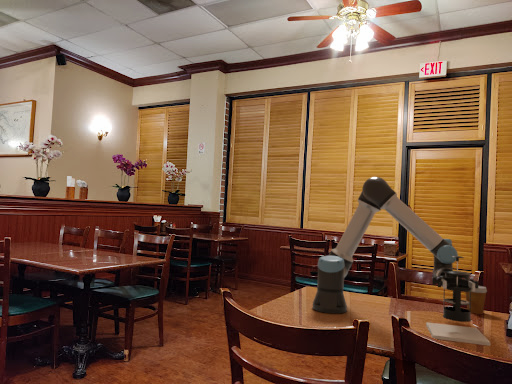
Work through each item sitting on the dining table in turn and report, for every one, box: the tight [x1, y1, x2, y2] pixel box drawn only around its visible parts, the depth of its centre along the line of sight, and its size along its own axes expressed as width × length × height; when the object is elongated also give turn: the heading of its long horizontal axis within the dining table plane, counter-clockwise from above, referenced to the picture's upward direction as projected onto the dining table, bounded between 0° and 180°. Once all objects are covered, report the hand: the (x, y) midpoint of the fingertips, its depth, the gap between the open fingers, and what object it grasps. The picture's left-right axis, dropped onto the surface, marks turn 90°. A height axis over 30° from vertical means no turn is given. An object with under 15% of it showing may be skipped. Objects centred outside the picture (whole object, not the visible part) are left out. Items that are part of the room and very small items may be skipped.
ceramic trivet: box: [425, 321, 491, 347], centre depth 143 cm, size 18×18×1 cm
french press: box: [442, 255, 472, 323], centre depth 144 cm, size 12×9×23 cm
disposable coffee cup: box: [464, 285, 488, 315], centre depth 181 cm, size 10×10×12 cm
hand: (459, 286), depth 139 cm, fingers closed on french press, 8 cm apart
